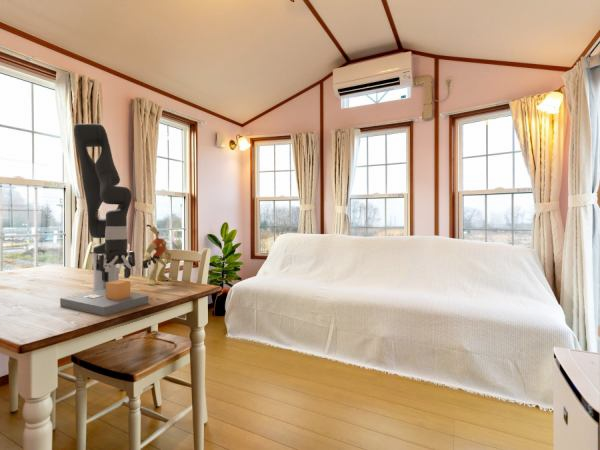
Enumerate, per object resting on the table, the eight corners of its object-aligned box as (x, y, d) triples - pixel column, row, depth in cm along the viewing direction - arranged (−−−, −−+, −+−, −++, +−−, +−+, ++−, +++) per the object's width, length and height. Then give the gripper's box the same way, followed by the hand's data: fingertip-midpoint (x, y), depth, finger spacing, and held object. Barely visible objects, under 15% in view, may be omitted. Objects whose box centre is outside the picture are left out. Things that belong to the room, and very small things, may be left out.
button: (96, 302, 127) (96, 295, 127) (101, 303, 125) (101, 296, 125) (88, 304, 124) (88, 296, 124) (93, 305, 122) (93, 297, 122)
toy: (149, 288, 152) (149, 225, 150) (133, 288, 153) (132, 225, 152) (176, 279, 174) (176, 224, 173) (161, 278, 176) (161, 223, 175)
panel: (106, 295, 139) (106, 287, 139) (148, 303, 128) (148, 294, 128) (60, 306, 123) (60, 296, 122) (103, 315, 111) (103, 305, 111)
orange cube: (120, 294, 129) (120, 279, 128) (130, 296, 126) (130, 281, 126) (105, 298, 123) (105, 282, 123) (116, 300, 121) (116, 284, 120)
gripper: (127, 236, 132) (127, 276, 132) (91, 238, 119) (91, 282, 119) (139, 237, 128) (139, 277, 129) (104, 239, 116) (104, 284, 116)
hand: (116, 279), depth 124 cm, fingers open, 8 cm apart
